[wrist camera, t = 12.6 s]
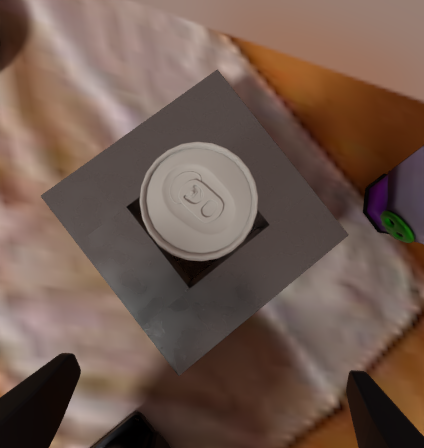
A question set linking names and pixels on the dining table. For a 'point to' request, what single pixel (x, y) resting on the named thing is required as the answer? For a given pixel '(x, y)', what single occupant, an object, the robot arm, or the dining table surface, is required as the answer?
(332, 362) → the dining table surface
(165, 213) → the beverage can
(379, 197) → the potion bottle
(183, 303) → the block
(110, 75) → the dining table surface
